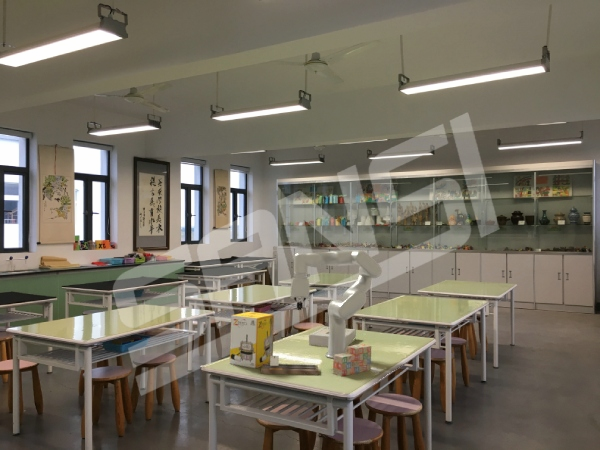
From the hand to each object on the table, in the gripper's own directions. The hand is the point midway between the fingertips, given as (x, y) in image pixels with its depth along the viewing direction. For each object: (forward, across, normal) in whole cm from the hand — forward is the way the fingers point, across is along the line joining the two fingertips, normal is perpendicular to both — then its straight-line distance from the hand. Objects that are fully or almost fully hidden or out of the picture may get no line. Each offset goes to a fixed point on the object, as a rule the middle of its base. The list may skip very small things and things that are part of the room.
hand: (299, 309), depth 264 cm
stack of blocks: (+28, -26, +23) cm, 44 cm away
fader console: (+27, +5, +25) cm, 37 cm away
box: (+28, -24, -47) cm, 60 cm away
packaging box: (+27, +25, +9) cm, 38 cm away
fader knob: (+25, +13, +25) cm, 38 cm away
